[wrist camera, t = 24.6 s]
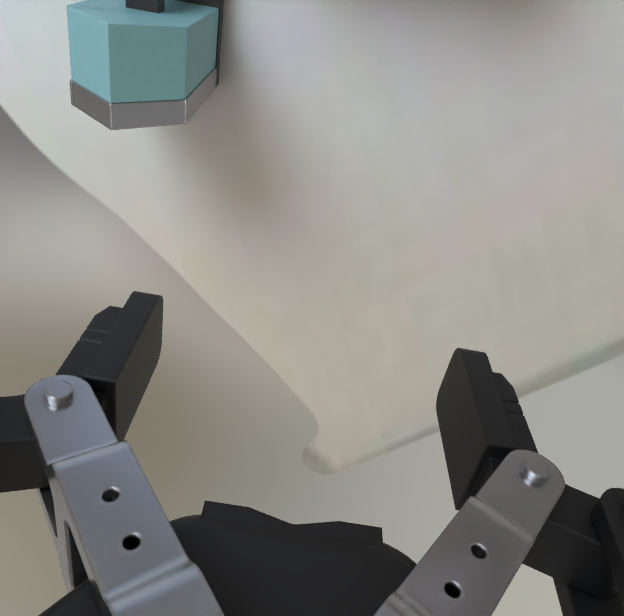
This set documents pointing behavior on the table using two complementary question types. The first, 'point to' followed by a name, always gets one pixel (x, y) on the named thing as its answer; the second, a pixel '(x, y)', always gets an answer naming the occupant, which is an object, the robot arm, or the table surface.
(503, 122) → the table surface
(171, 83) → the iron
